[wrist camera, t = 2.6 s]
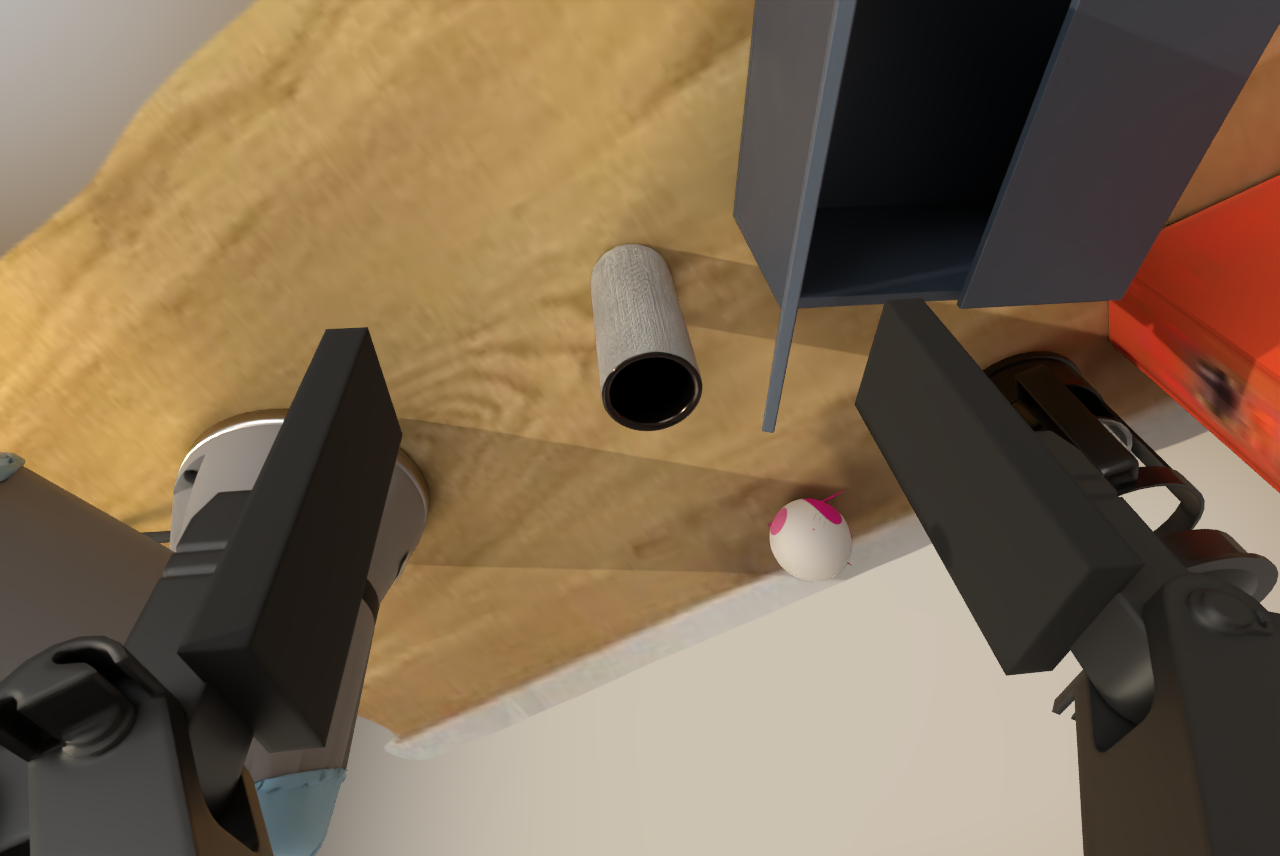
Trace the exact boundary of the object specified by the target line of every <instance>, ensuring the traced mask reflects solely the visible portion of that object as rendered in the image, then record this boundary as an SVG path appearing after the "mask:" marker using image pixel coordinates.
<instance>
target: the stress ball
mask: <svg viewBox="0 0 1280 856" xmlns="http://www.w3.org/2000/svg"><path fill="white" fill-rule="evenodd" d="M845 490H846V489H845ZM843 491H844V490H843ZM843 491H841V492H843ZM841 492H839V493H841ZM839 493H837V494H835V495H833V496H831V497H829V498H827V499H825V500H823V501H820V500H816V499H809V498H806V499H798V500H795V501H792V502H790V503H788V504H786V505H785V506H784V507H783V508H781V509H780V510H779V512H778V513H777V514H776V516H775V517H774V519H773V522H772V524H768V525H769V526H770V527H771V528H770V545H771V549H772V552H773V554H774V556H775V558H776V560H777V561H778V563H779V564H780V565H781V567H782V568H783V569H784V570H785V571H787V572H788V573H789V574H791V575H792V576H794V577H796V578H798V579H801V580H804V581H810V582H819V581H825V580H828V579H830V578H832V577H834V576H836V575H837V574H839V573H840V572H841V571H842V570H843V569H844V567H845V566H846V564H847V563H848V561H849V558H850V556H851V552H852V536H851V532H850V529H849V526H848V524H847V522H846V520H845V519H844V518H843V516H842V515H841V514H840V513H839V512H838V511H837V510H836V509H835V508H834V507H832V506H831V505H829V504H827V503H825V502H826V501H828V500H829V499H831V498H833V497H834V496H836V495H838V494H839ZM848 564H849V563H848ZM850 565H851V564H850ZM851 566H852V565H851Z"/></svg>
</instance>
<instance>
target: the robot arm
mask: <svg viewBox="0 0 1280 856" xmlns="http://www.w3.org/2000/svg"><path fill="white" fill-rule="evenodd" d="M855 406H856V408H857V410H858V411H859V413H860V415H861V417H862V419H863V420H864V422H865V424H866V426H867V427H868V429H869V431H870V433H871V435H872V436H873V438H874V440H875V442H876V444H877V445H878V447H879V449H880V451H881V453H882V454H883V456H884V458H885V460H886V461H887V463H888V465H889V467H890V469H891V470H892V472H893V474H894V476H895V478H896V479H897V481H898V483H899V485H900V487H901V488H902V490H903V492H904V494H905V495H906V497H907V499H908V501H909V503H910V504H911V506H912V508H913V510H914V512H915V513H916V515H917V517H918V519H919V521H920V522H921V524H922V526H923V528H924V529H925V531H926V533H927V535H928V537H929V538H930V540H931V542H932V544H933V546H934V547H935V549H936V551H937V553H938V554H939V556H940V558H941V560H942V562H943V563H944V565H945V567H946V569H947V570H948V572H949V574H950V576H951V578H952V580H953V581H954V583H955V585H956V586H957V588H958V590H959V592H960V594H961V595H962V597H963V599H964V601H965V603H966V605H967V606H968V608H969V610H970V612H971V613H972V615H973V617H974V619H975V621H976V622H977V624H978V626H979V628H980V630H981V631H982V633H983V635H984V637H985V639H986V640H987V642H988V644H989V646H990V647H991V649H992V651H993V653H994V655H995V657H996V658H997V660H998V662H999V664H1000V665H1001V667H1002V669H1003V671H1004V672H1005V674H1006V675H1016V674H1025V673H1035V672H1043V671H1052V670H1053V669H1054V668H1055V667H1056V666H1057V665H1058V664H1059V662H1060V661H1061V660H1062V659H1063V658H1064V657H1065V656H1066V654H1067V653H1068V652H1069V651H1070V650H1071V651H1072V653H1073V654H1074V656H1075V657H1076V659H1077V661H1078V662H1079V663H1080V665H1081V666H1082V668H1083V670H1082V671H1081V673H1080V674H1079V675H1078V676H1077V677H1076V678H1075V679H1074V680H1073V681H1072V682H1071V683H1070V684H1069V685H1068V686H1067V687H1066V689H1065V690H1064V691H1063V692H1062V693H1061V694H1060V695H1059V696H1058V697H1057V698H1056V699H1055V701H1054V706H1053V710H1052V712H1054V713H1057V714H1059V715H1060V714H1061V713H1062V712H1063V711H1064V710H1065V709H1066V708H1067V707H1068V706H1069V705H1070V704H1071V703H1072V702H1073V701H1074V700H1075V713H1074V714H1073V716H1072V718H1071V719H1073V720H1075V721H1076V731H1077V747H1078V764H1079V780H1080V799H1081V816H1082V833H1083V850H1084V856H1280V614H1279V613H1274V612H1268V611H1267V610H1266V609H1265V608H1264V607H1263V606H1262V605H1261V604H1260V603H1259V602H1258V601H1257V600H1256V599H1255V598H1254V597H1252V596H1251V595H1249V594H1247V593H1246V592H1244V591H1243V590H1241V589H1240V588H1238V587H1237V586H1235V585H1234V584H1231V583H1229V582H1226V581H1224V580H1221V579H1219V578H1216V577H1214V576H1211V575H1206V574H1200V573H1194V572H1189V571H1188V570H1187V569H1186V568H1185V567H1184V566H1183V565H1182V563H1181V562H1180V561H1179V560H1178V559H1177V558H1176V557H1175V556H1174V555H1173V553H1172V552H1171V551H1170V550H1169V549H1168V548H1167V547H1166V546H1165V544H1164V543H1163V542H1162V541H1161V540H1160V539H1159V538H1158V537H1157V536H1156V534H1155V533H1154V532H1153V531H1152V530H1151V529H1150V528H1149V527H1148V525H1147V524H1146V523H1145V522H1144V521H1143V520H1142V519H1141V518H1140V517H1139V516H1138V514H1137V513H1136V512H1135V511H1134V510H1133V509H1132V508H1131V506H1130V505H1129V504H1128V503H1127V502H1126V501H1125V500H1124V499H1123V498H1122V497H1118V495H1117V493H1118V492H1117V491H1116V490H1115V489H1114V487H1113V486H1112V485H1111V484H1110V483H1109V482H1108V481H1107V480H1106V478H1101V476H1100V474H1101V473H1100V472H1099V471H1098V469H1097V468H1096V467H1095V466H1094V465H1093V464H1092V463H1091V462H1090V461H1089V459H1088V458H1087V457H1086V456H1085V455H1084V454H1083V453H1082V452H1081V450H1079V449H1078V448H1076V447H1075V446H1073V445H1072V444H1070V443H1069V442H1067V441H1066V440H1064V439H1063V438H1061V437H1060V436H1058V435H1057V434H1055V433H1054V432H1052V431H1051V430H1050V431H1036V432H1034V431H1033V430H1032V429H1031V428H1030V426H1029V425H1028V424H1027V423H1026V422H1025V420H1024V419H1023V418H1022V417H1021V416H1020V414H1019V413H1018V412H1017V411H1016V410H1015V409H1014V407H1013V406H1012V405H1011V404H1010V403H1009V401H1008V400H1007V399H1006V398H1005V397H1004V395H1003V394H1002V393H1001V392H1000V391H999V390H998V388H997V387H996V386H995V385H994V384H993V382H992V381H991V380H990V379H989V378H988V376H987V375H986V374H985V373H984V372H983V371H982V369H981V368H980V367H979V366H978V365H977V363H976V362H975V361H974V360H973V359H972V357H971V356H970V355H969V354H968V353H967V352H966V350H965V349H964V348H963V347H962V346H961V344H960V343H959V342H958V341H957V340H956V338H955V337H954V336H953V335H952V334H951V333H950V331H949V330H948V329H947V328H946V327H945V325H944V324H943V323H942V322H941V321H940V320H939V318H938V317H937V316H936V315H935V314H934V312H933V311H932V310H931V309H930V308H929V306H928V305H927V304H926V303H925V302H924V301H923V299H922V298H917V299H898V300H885V304H884V307H883V311H882V314H881V317H880V321H879V324H878V327H877V331H876V334H875V338H874V341H873V344H872V348H871V351H870V354H869V358H868V361H867V365H866V368H865V371H864V375H863V378H862V381H861V385H860V388H859V392H858V395H857V398H856V402H855ZM401 438H402V432H401V428H400V425H399V422H398V419H397V416H396V413H395V410H394V407H393V404H392V401H391V398H390V395H389V391H388V388H387V385H386V382H385V379H384V376H383V373H382V370H381V367H380V364H379V361H378V358H377V354H376V351H375V348H374V345H373V342H372V339H371V336H370V333H369V330H368V327H364V328H345V329H326V331H325V333H324V335H323V337H322V339H321V341H320V344H319V346H318V348H317V350H316V352H315V354H314V357H313V359H312V361H311V363H310V365H309V367H308V369H307V372H306V374H305V376H304V378H303V380H302V382H301V385H300V387H299V389H298V391H297V393H296V395H295V398H294V400H293V402H292V404H291V406H290V408H289V409H269V410H259V411H253V412H248V413H244V414H240V415H236V416H234V417H231V418H228V419H226V420H223V421H221V422H219V423H217V424H216V425H214V426H213V427H211V428H209V429H208V430H207V431H206V432H204V433H203V434H202V435H201V436H200V437H199V438H198V439H197V440H196V442H195V443H194V445H193V446H192V448H191V449H190V451H189V453H188V454H187V456H186V458H185V459H184V461H183V463H182V464H181V467H180V469H179V472H178V476H177V479H176V482H175V486H174V496H173V508H172V521H171V531H163V532H146V533H140V532H139V531H137V530H135V529H133V528H132V527H130V526H128V525H126V524H124V523H123V522H121V521H119V520H117V519H116V518H114V517H112V516H110V515H109V514H107V513H105V512H103V511H101V510H100V509H98V508H96V507H94V506H93V505H91V504H89V503H87V502H86V501H84V500H82V499H80V498H79V497H77V496H75V495H73V494H71V493H70V492H68V491H66V490H64V489H63V488H61V487H59V486H57V485H56V484H54V483H52V482H50V481H48V480H47V479H45V478H43V477H41V476H40V475H38V474H36V473H34V472H33V471H31V470H29V469H27V468H26V467H24V466H23V465H24V463H25V459H23V458H21V457H20V456H18V455H16V454H14V453H1V452H0V856H314V855H315V854H316V853H317V852H318V850H319V849H320V847H321V845H322V843H323V841H324V839H325V836H326V834H327V830H328V827H329V823H330V820H331V816H332V813H333V809H334V806H335V802H336V798H337V795H338V791H339V788H340V785H341V783H342V782H344V780H345V778H346V771H347V770H346V767H347V762H348V757H349V752H350V747H351V742H352V737H353V733H354V728H355V723H356V718H357V713H358V708H359V703H360V698H361V693H362V688H363V683H364V678H365V673H366V668H367V663H368V659H369V654H370V649H371V644H372V639H373V634H374V628H375V623H376V619H377V615H378V611H379V607H380V603H381V601H382V599H383V598H384V596H385V595H386V593H387V592H388V590H389V589H390V587H391V586H392V584H393V582H394V581H395V579H396V578H397V576H398V578H397V580H396V583H397V581H398V580H399V578H400V577H401V575H402V574H403V571H404V569H405V566H406V563H407V561H408V559H409V557H410V556H411V554H412V553H413V551H414V550H415V548H416V546H417V545H418V543H419V541H420V538H421V536H422V534H423V531H424V528H425V524H426V519H427V513H428V508H429V494H428V489H427V485H426V483H425V480H424V478H423V476H422V474H421V472H420V471H419V469H418V468H417V466H416V465H415V464H414V462H413V461H412V460H411V459H410V458H409V457H408V456H407V455H406V454H405V453H404V452H403V451H402V450H401V449H400V448H399V446H400V442H401ZM168 542H170V546H169V548H167V547H165V546H163V545H162V544H160V543H168ZM396 583H395V585H396Z"/></svg>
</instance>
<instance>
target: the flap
mask: <svg viewBox="0 0 1280 856" xmlns="http://www.w3.org/2000/svg"><path fill="white" fill-rule="evenodd" d="M856 5H857V0H834V6H833V12H832V18H831V24H830V29H829V35H828V41H827V47H826V52H825V58H824V64H823V70H822V76H821V81H820V87H819V93H818V99H817V105H816V110H815V116H814V122H813V128H812V133H811V139H810V145H809V151H808V157H807V162H806V168H805V174H804V180H803V185H802V191H801V197H800V203H799V209H798V214H797V220H796V226H795V232H794V237H793V243H792V249H791V255H790V261H789V266H788V272H787V278H786V284H785V289H784V295H783V301H782V307H781V313H780V319H779V325H778V331H777V338H776V344H775V350H774V357H773V363H772V370H771V376H770V382H769V389H768V395H767V401H766V408H765V414H764V421H763V427H762V431H765V432H771V433H773V432H774V430H775V425H776V419H777V414H778V409H779V404H780V399H781V393H782V388H783V383H784V378H785V373H786V368H787V362H788V357H789V352H790V347H791V342H792V336H793V331H794V326H795V321H796V316H797V311H798V305H799V300H800V295H801V290H802V285H803V279H804V274H805V269H806V264H807V259H808V254H809V248H810V243H811V238H812V233H813V228H814V222H815V217H816V212H817V207H818V202H819V196H820V191H821V186H822V181H823V176H824V171H825V165H826V160H827V155H828V150H829V145H830V139H831V134H832V129H833V124H834V119H835V114H836V108H837V103H838V98H839V93H840V88H841V82H842V77H843V72H844V67H845V62H846V56H847V51H848V46H849V41H850V36H851V31H852V25H853V20H854V15H855V10H856Z"/></svg>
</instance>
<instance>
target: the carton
mask: <svg viewBox="0 0 1280 856" xmlns="http://www.w3.org/2000/svg"><path fill="white" fill-rule="evenodd" d="M833 6H834V0H755V10H754V20H753V29H752V39H751V48H750V58H749V68H748V77H747V87H746V96H745V106H744V116H743V125H742V135H741V144H740V154H739V164H738V173H737V183H736V192H735V202H734V212H733V217H734V219H735V221H736V223H737V224H738V226H739V228H740V230H741V232H742V234H743V236H744V238H745V240H746V242H747V244H748V246H749V248H750V250H751V252H752V254H753V256H754V258H755V260H756V262H757V263H758V265H759V267H760V269H761V271H762V273H763V275H764V277H765V279H766V281H767V283H768V285H769V287H770V289H771V291H772V293H773V295H774V297H775V299H776V301H777V302H778V304H779V306H780V308H781V307H782V301H783V295H784V289H785V284H786V278H787V272H788V266H789V261H790V255H791V249H792V243H793V237H794V232H795V226H796V220H797V214H798V209H799V203H800V197H801V191H802V185H803V180H804V174H805V168H806V162H807V157H808V151H809V145H810V139H811V133H812V128H813V122H814V116H815V110H816V105H817V99H818V93H819V87H820V81H821V76H822V70H823V64H824V58H825V52H826V47H827V41H828V35H829V29H830V24H831V18H832V12H833ZM1279 24H1280V0H857V5H856V10H855V15H854V20H853V25H852V31H851V36H850V41H849V46H848V51H847V56H846V62H845V67H844V72H843V77H842V82H841V88H840V93H839V98H838V103H837V108H836V114H835V119H834V124H833V129H832V134H831V139H830V145H829V150H828V155H827V160H826V165H825V171H824V176H823V181H822V186H821V191H820V196H819V202H818V207H817V212H816V217H815V222H814V228H813V233H812V238H811V243H810V248H809V254H808V259H807V264H806V269H805V274H804V279H803V285H802V290H801V295H800V300H799V305H798V308H816V307H834V306H852V305H871V304H885V300H898V299H917V298H922V299H923V301H924V302H926V301H944V300H958V301H957V306H958V307H959V308H960V309H968V308H986V307H1004V306H1022V305H1040V304H1058V303H1076V302H1094V301H1112V300H1122V298H1123V296H1124V295H1125V293H1126V291H1127V289H1128V288H1129V286H1130V284H1131V282H1132V281H1133V279H1134V277H1135V275H1136V274H1137V272H1138V270H1139V268H1140V267H1141V265H1142V263H1143V261H1144V260H1145V258H1146V256H1147V254H1148V253H1149V251H1150V249H1151V247H1152V246H1153V244H1154V242H1155V240H1156V239H1157V237H1158V235H1159V233H1160V232H1161V230H1162V228H1163V226H1164V225H1165V223H1166V221H1167V219H1168V218H1169V216H1170V214H1171V212H1172V211H1173V209H1174V207H1175V205H1176V204H1177V202H1178V200H1179V198H1180V197H1181V195H1182V193H1183V191H1184V190H1185V188H1186V186H1187V184H1188V183H1189V181H1190V179H1191V177H1192V176H1193V174H1194V172H1195V170H1196V169H1197V167H1198V165H1199V163H1200V162H1201V160H1202V158H1203V156H1204V155H1205V153H1206V151H1207V149H1208V148H1209V146H1210V144H1211V143H1212V141H1213V139H1214V137H1215V136H1216V134H1217V132H1218V130H1219V129H1220V127H1221V125H1222V123H1223V122H1224V120H1225V118H1226V116H1227V115H1228V113H1229V111H1230V109H1231V108H1232V106H1233V104H1234V102H1235V101H1236V99H1237V97H1238V95H1239V94H1240V92H1241V90H1242V88H1243V87H1244V85H1245V83H1246V81H1247V80H1248V78H1249V76H1250V74H1251V73H1252V71H1253V69H1254V67H1255V66H1256V64H1257V62H1258V60H1259V59H1260V57H1261V55H1262V53H1263V52H1264V50H1265V48H1266V46H1267V45H1268V43H1269V41H1270V39H1271V38H1272V36H1273V34H1274V32H1275V31H1276V29H1277V27H1278V25H1279Z"/></svg>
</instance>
